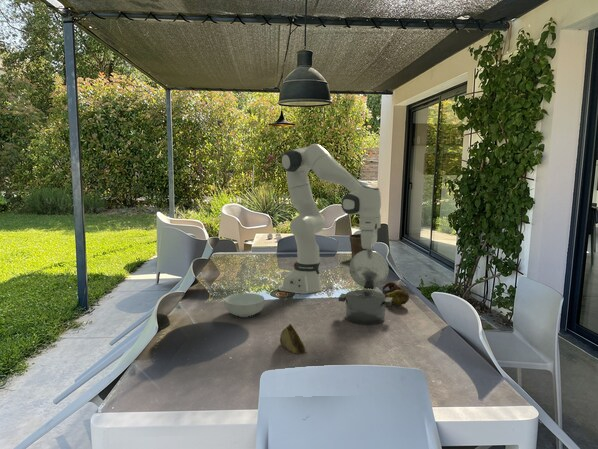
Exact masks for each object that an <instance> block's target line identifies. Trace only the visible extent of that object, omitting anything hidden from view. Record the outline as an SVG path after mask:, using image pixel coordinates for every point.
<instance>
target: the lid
mask: <svg viewBox="0 0 598 449" xmlns="http://www.w3.org/2000/svg"><path fill="white" fill-rule="evenodd" d="M348 267H349V268H348V269H349V274H350V277H351V279H352V280H353V282H354V283H356V284H357V285H358V286H360V287H362V288H363V289H372V290H375V288H378V287H380V286H382V285H383V284H384V283H385V282H386V280H387V278H388V277H389V276H388V275H389V270H390V269H389V264H388V262H387V260H386V258H385V257H384V256H383V255H381V253H379V252H377V251H374V250H373V251H370V250H365V251H361V252H359V253H357V254H356V255H355V256H354V257H353V258H352V257H351V260H350V262H349V266H348Z"/></svg>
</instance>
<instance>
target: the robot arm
mask: <svg viewBox="0 0 598 449" xmlns="http://www.w3.org/2000/svg"><path fill="white" fill-rule="evenodd" d="M280 161H281V166H282V167H283V168H282V169H284V171H286V172H285V173H286V182H287V188H288V193H289V197H290V202H291V205H292V206H293V207H294V209H296V211H297V213H298V215H297V216H295V217H294V218H293V219H292V220H291V221H290V225H289V229H290V232H291V234H292V235H293V236H294V238H295V239H294V240H295V243H296V249H297V252H296V253H297V254H296V255H297V260H296V261H295V262H294V263H293V266H292V267H293V269H292V270H290V272H288V273H287V274H286V275H285V276H283V281H282V283H281V284H279V285H278V291H281V292H287V293H288V292H289V293H294V294H301V295H307V294H311V293H312V294H313V293H318V292H321V291H323V287H322V282H321V262H320V247H319V244H318V243H317V240H316V235H317V234H319V233H320V232H321V231H322V230H324V228H325V226H326V218H325V217H324V216H323V214H322V213H321V212H320V210H319V208H318V206H317V203H316V202H315V199H314V197H313V192H312V188H311V185H310V181H309V176H308V175H309V172H313V173H314V174H315V175H316V177H317V178H319V179H320V180H321V181H323V182H326V183H333V184H337V185H341V186H342V187H344V188H345V189H347V190H348V191H349V192H348V193H345V194H344V195H343V196H342V198H341V202H340V204H341V209H342V211H343V212H344V213H345V214H347V215H351V216H353V215H358V216H359V226H358V230H359V231H360V234H361V245H362V248H363V249H367V250H370V251H374V250H373V249H374V245H375V244H376V243H377V241H378V229H380V228H381V227H382V226H381V222H382V220H381V208H382V207H381V206H382V204H381V203H382V199H381V191H380V188H379V187H377V186H375V185H372V184H371V185H370V184H362V183H361V182H360V180H358V179H357V178H356V177H355V176H354V175H353V174H352V173H351V172H350V171H348V170H347V169H346V168H344V166H342V164H340V163H339V162H338V161H337V160H336V159H335V158H334V156H332V154H331V153H329V151H328V150H326V149H325V148H324V147H323V146H322V145H320V144H318V143H312V144H310V145H309V146H307V147H299V148H295V149H289V150H287V151H285V152H283V154H282V155H281V160H280Z"/></svg>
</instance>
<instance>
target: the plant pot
mask: <svg viewBox="0 0 598 449" xmlns="http://www.w3.org/2000/svg"><path fill="white" fill-rule="evenodd" d="M349 242H350V251H351V252H350V253H351V259H352V258H353V257H354V256H355V255H356V254H357V253H359V252H361V251H365V250H367V249H363V248H362V245H361V233H357V234H356V233H355V234H354V233H353V234H350V235H349Z"/></svg>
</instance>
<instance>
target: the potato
mask: <svg viewBox="0 0 598 449" xmlns="http://www.w3.org/2000/svg"><path fill="white" fill-rule="evenodd" d="M386 297H390V298H392V303H391V305H395V306H401V305H406V303H408V302H409V300H410V295H409V293H408V292H407V291H406V290H403V289H402V290H395V291H393V292H390V293H387V294H386V295H385V299H386Z"/></svg>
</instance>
